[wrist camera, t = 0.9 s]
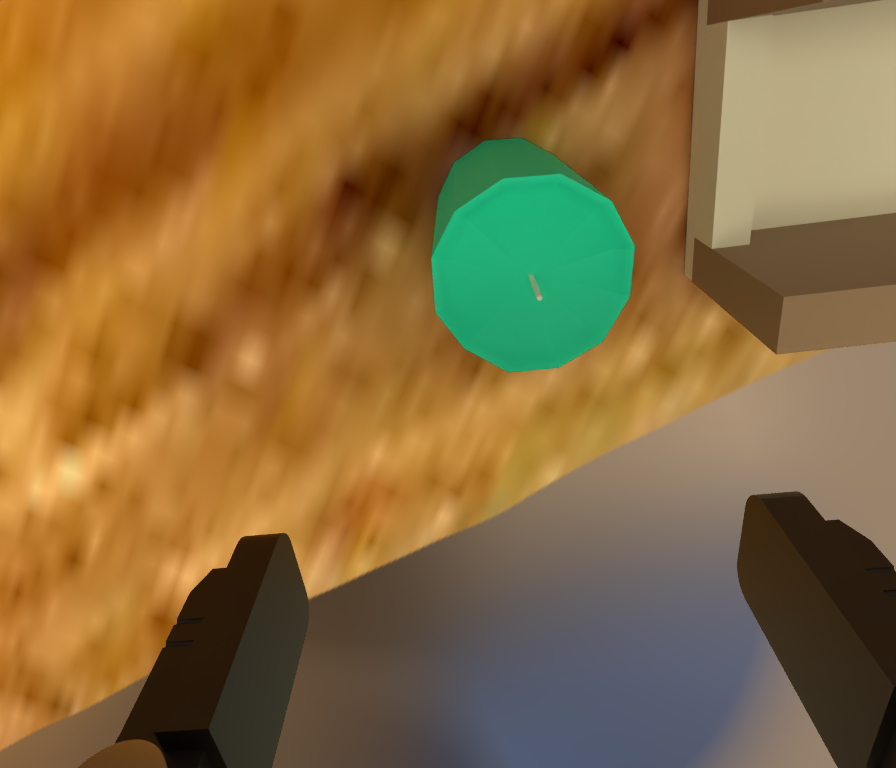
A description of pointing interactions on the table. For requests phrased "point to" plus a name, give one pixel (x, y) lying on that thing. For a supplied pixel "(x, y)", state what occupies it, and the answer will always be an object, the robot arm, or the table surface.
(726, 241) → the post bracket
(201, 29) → the table surface
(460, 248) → the candle
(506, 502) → the table surface
